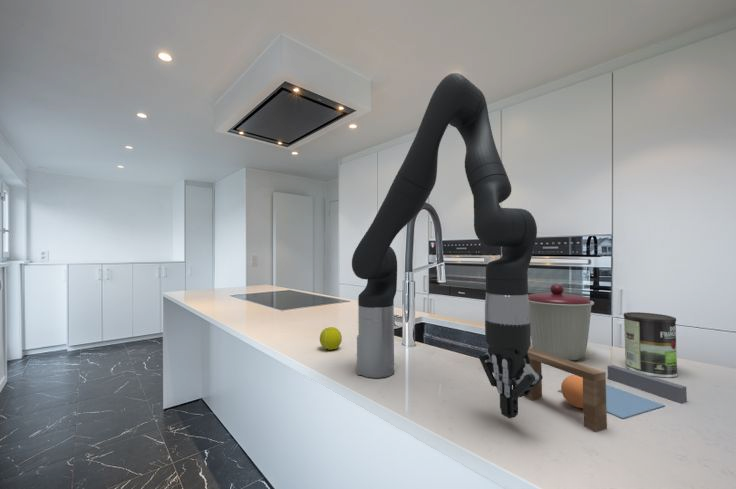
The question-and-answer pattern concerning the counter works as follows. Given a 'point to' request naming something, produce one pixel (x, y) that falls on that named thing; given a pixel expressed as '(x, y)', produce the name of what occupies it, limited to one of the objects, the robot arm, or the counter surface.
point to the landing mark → (627, 403)
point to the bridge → (591, 387)
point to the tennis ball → (330, 338)
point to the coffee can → (650, 344)
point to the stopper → (648, 383)
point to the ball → (573, 390)
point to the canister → (560, 323)
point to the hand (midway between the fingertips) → (508, 415)
